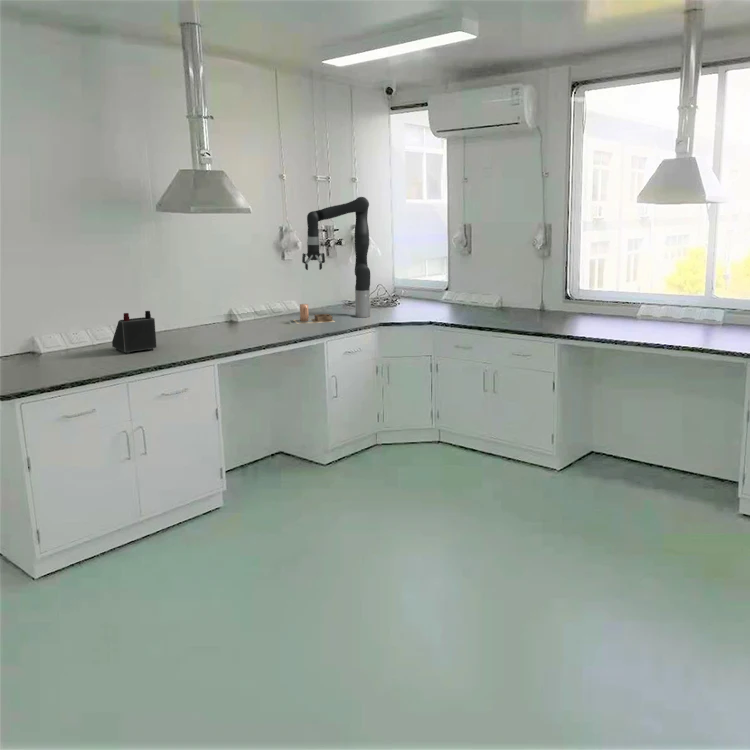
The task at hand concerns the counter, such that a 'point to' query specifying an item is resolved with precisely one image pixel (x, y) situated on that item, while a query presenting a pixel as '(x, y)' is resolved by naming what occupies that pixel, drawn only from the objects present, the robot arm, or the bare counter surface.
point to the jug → (304, 312)
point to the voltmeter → (135, 334)
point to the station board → (317, 319)
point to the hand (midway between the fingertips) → (313, 269)
